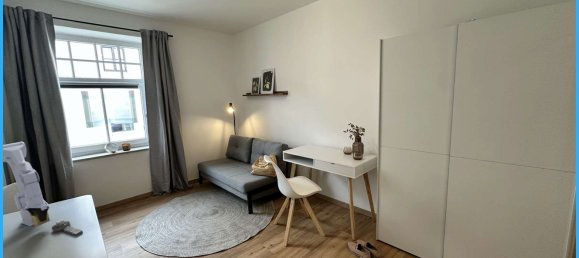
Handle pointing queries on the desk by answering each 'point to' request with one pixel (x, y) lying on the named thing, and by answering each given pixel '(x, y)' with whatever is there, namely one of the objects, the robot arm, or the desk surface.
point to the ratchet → (65, 228)
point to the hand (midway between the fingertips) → (40, 219)
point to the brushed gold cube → (36, 220)
